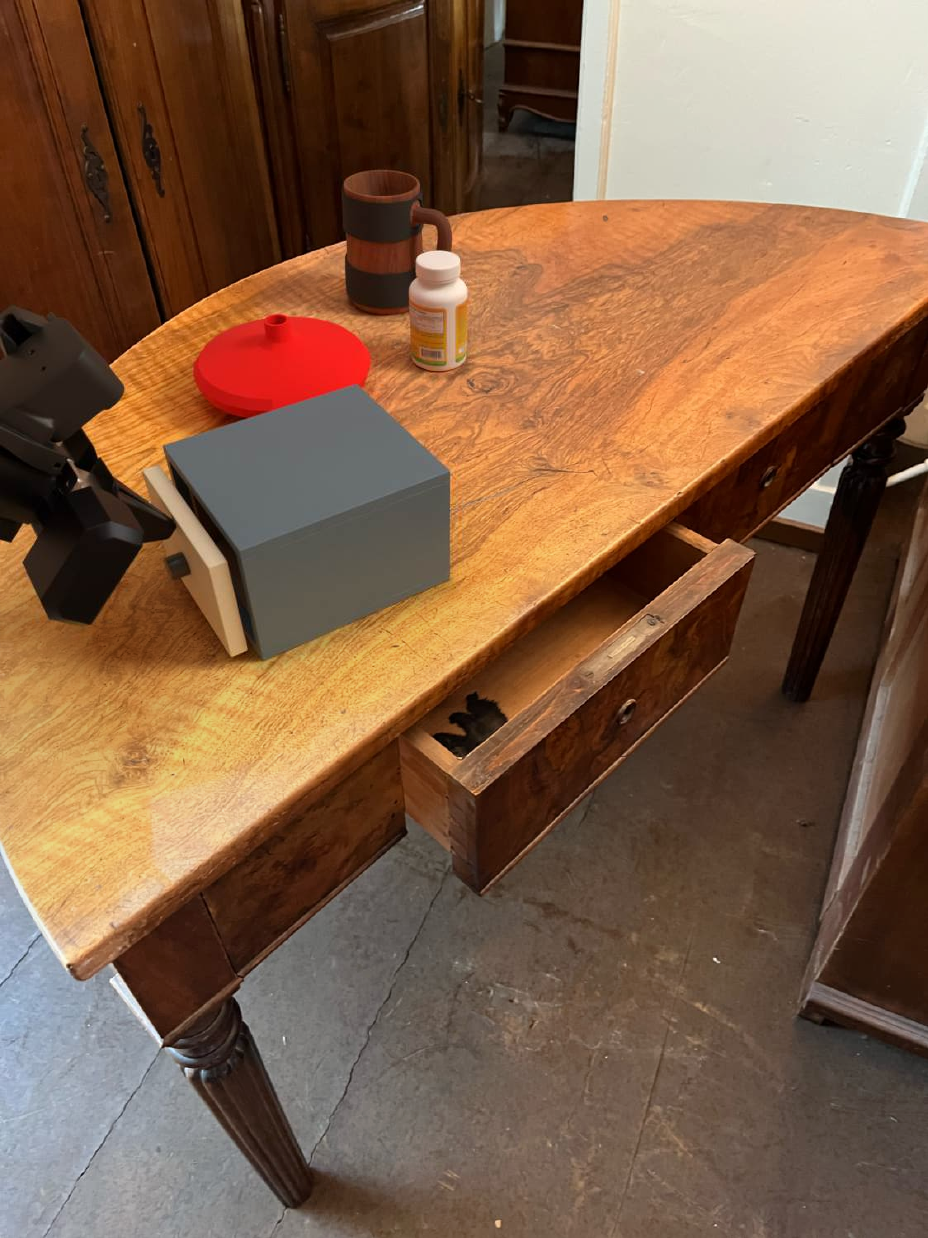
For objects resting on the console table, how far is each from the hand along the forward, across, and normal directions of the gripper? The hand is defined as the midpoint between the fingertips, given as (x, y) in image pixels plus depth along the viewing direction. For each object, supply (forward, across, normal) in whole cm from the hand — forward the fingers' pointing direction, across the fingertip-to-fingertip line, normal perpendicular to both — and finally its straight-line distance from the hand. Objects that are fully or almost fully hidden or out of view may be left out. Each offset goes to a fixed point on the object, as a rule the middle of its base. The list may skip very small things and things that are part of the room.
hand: (171, 529), depth 56 cm
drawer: (+9, 0, 0) cm, 9 cm away
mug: (+31, +33, -20) cm, 49 cm away
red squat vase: (+18, +23, -7) cm, 30 cm away
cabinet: (+12, 0, -1) cm, 12 cm away
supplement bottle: (+29, +20, -18) cm, 40 cm away
